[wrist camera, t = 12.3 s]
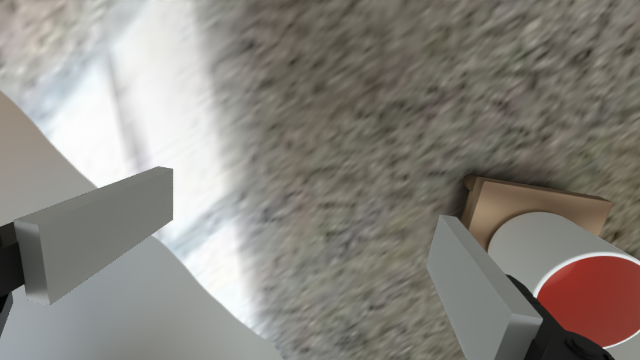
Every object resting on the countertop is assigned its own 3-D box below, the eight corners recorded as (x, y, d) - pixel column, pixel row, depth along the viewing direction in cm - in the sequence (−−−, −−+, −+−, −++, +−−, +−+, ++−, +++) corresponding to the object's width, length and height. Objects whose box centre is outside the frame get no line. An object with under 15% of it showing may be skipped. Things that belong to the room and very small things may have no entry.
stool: (459, 165, 41) (484, 181, 34) (564, 182, 40) (613, 202, 33) (433, 253, 45) (450, 286, 38) (528, 271, 44) (565, 307, 37)
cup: (587, 214, 33) (682, 261, 24) (559, 289, 36) (633, 359, 27) (495, 202, 34) (551, 244, 25) (474, 278, 37) (516, 342, 27)
